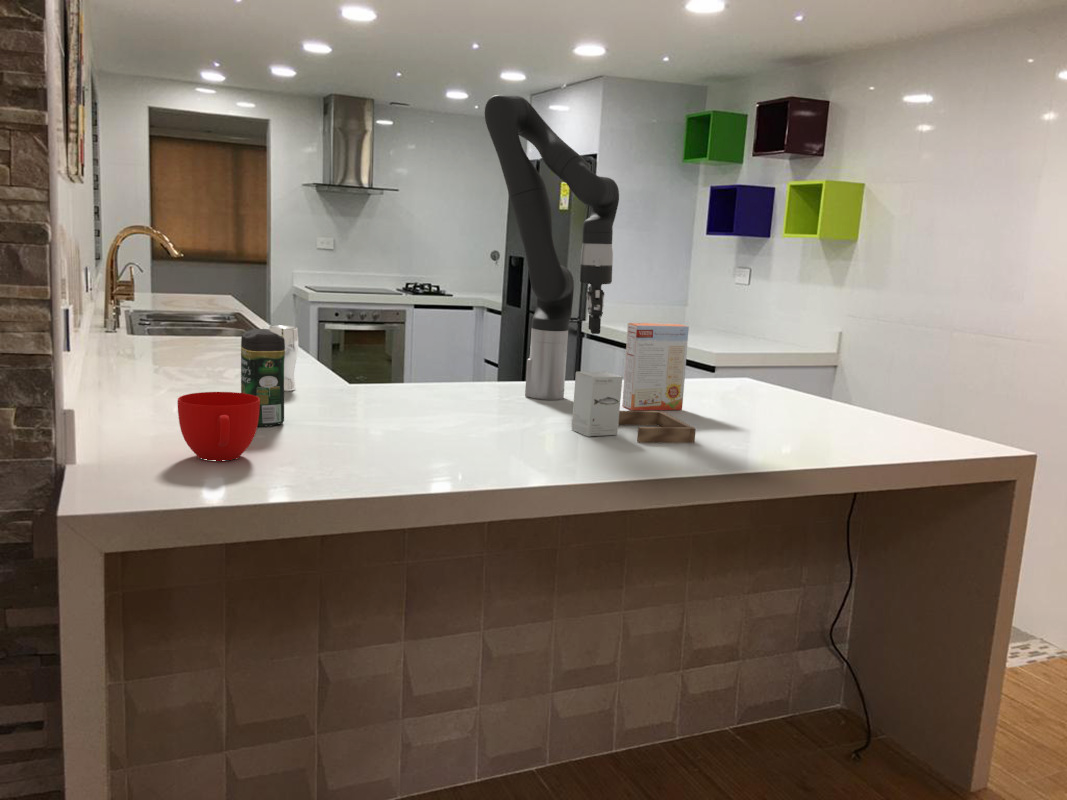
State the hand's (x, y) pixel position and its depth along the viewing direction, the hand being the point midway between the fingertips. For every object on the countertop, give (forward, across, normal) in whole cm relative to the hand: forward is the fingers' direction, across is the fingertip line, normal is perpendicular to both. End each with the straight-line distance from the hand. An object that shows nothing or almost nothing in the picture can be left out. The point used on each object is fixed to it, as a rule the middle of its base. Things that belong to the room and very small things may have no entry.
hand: (594, 331), depth 218 cm
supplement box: (+18, +30, -1) cm, 35 cm away
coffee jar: (+16, +40, -68) cm, 81 cm away
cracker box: (+19, -3, +15) cm, 24 cm away
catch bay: (+19, +27, +10) cm, 34 cm away
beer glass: (+15, +2, -74) cm, 76 cm away
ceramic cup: (+16, +70, -66) cm, 98 cm away
